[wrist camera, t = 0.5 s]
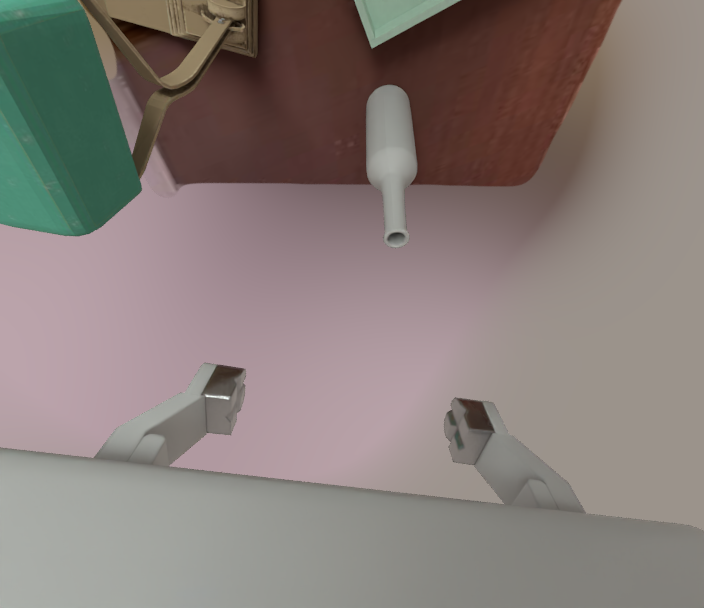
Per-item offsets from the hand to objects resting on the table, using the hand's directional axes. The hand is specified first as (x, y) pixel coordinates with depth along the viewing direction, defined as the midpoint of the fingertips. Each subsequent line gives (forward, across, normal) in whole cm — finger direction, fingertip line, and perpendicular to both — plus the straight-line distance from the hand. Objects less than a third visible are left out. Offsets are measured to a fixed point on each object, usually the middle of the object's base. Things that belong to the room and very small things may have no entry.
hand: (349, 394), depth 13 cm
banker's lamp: (+45, +26, -18) cm, 55 cm away
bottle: (+50, -3, -11) cm, 52 cm away
